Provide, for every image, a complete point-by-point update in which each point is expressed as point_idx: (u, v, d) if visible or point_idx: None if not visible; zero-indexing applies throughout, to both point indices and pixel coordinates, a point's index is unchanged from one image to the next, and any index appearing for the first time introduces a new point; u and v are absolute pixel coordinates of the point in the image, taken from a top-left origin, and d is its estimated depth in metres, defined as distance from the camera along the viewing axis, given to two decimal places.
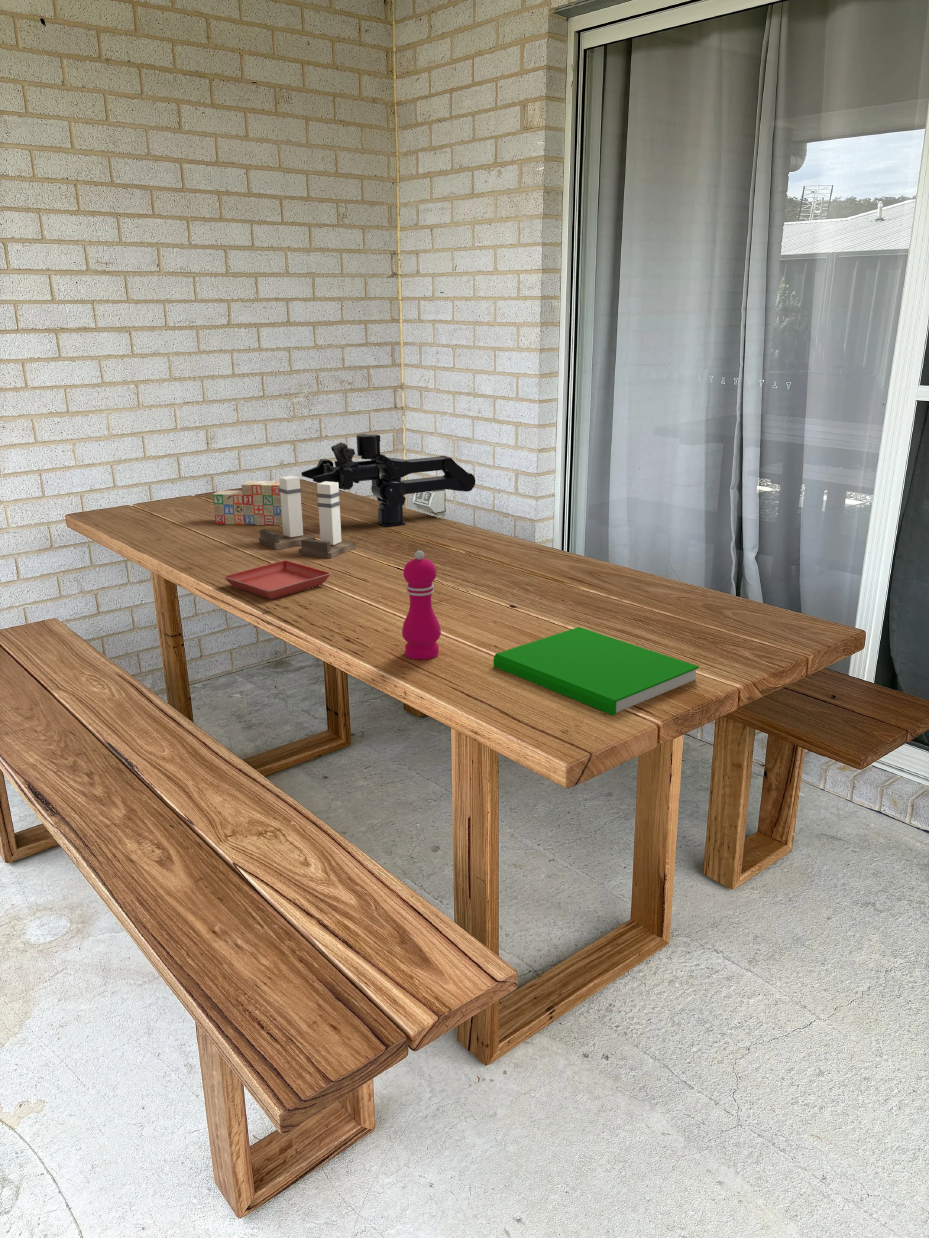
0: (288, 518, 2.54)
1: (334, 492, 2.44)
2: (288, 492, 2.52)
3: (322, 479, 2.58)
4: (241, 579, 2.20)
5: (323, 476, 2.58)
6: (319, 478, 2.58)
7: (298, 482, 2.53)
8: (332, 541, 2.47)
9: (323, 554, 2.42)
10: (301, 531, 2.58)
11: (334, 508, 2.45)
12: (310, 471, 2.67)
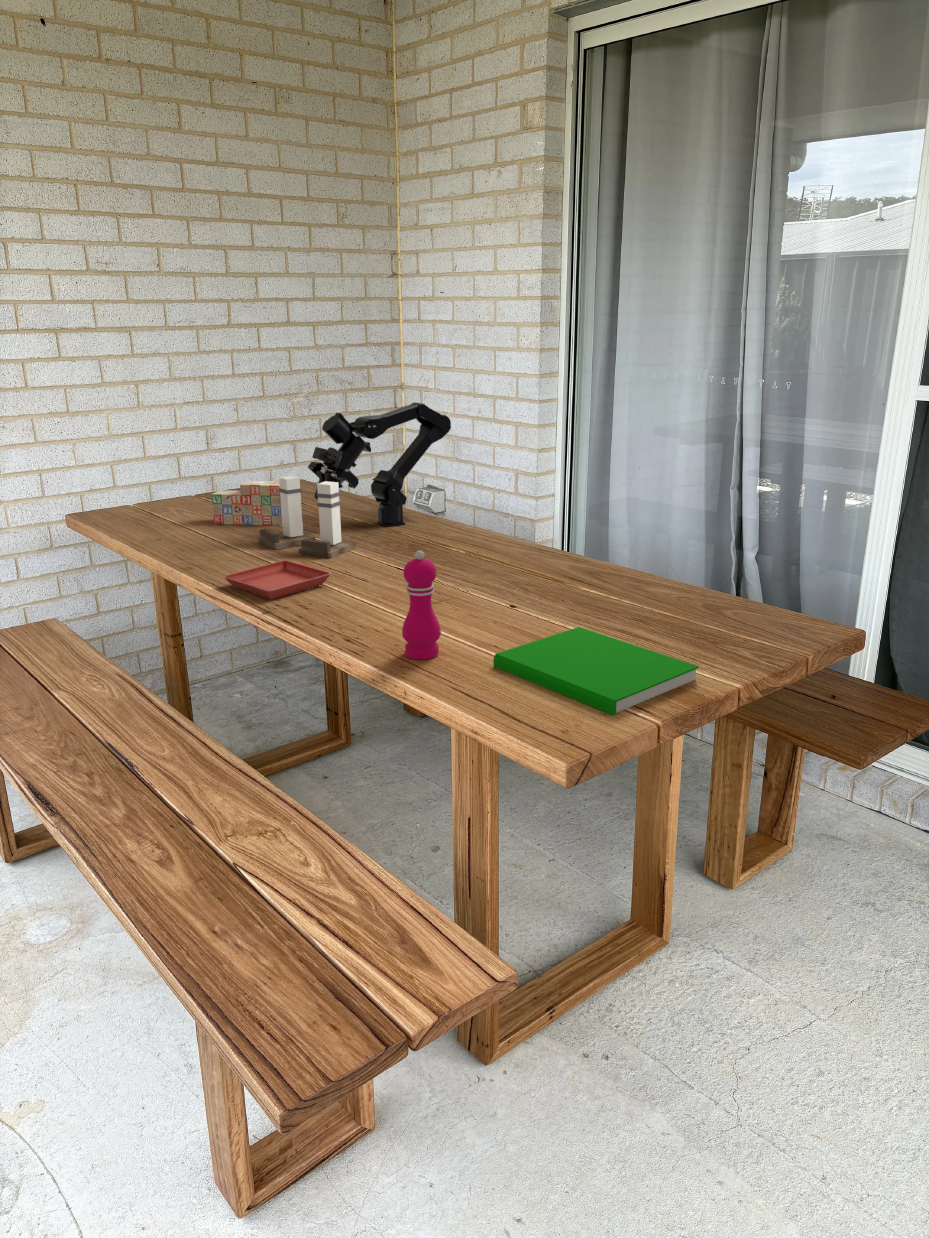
0: (288, 518, 2.54)
1: (334, 492, 2.44)
2: (288, 492, 2.52)
3: None
4: (241, 579, 2.20)
5: None
6: None
7: (298, 482, 2.53)
8: (332, 541, 2.47)
9: (323, 554, 2.42)
10: (301, 531, 2.58)
11: (334, 508, 2.45)
12: None
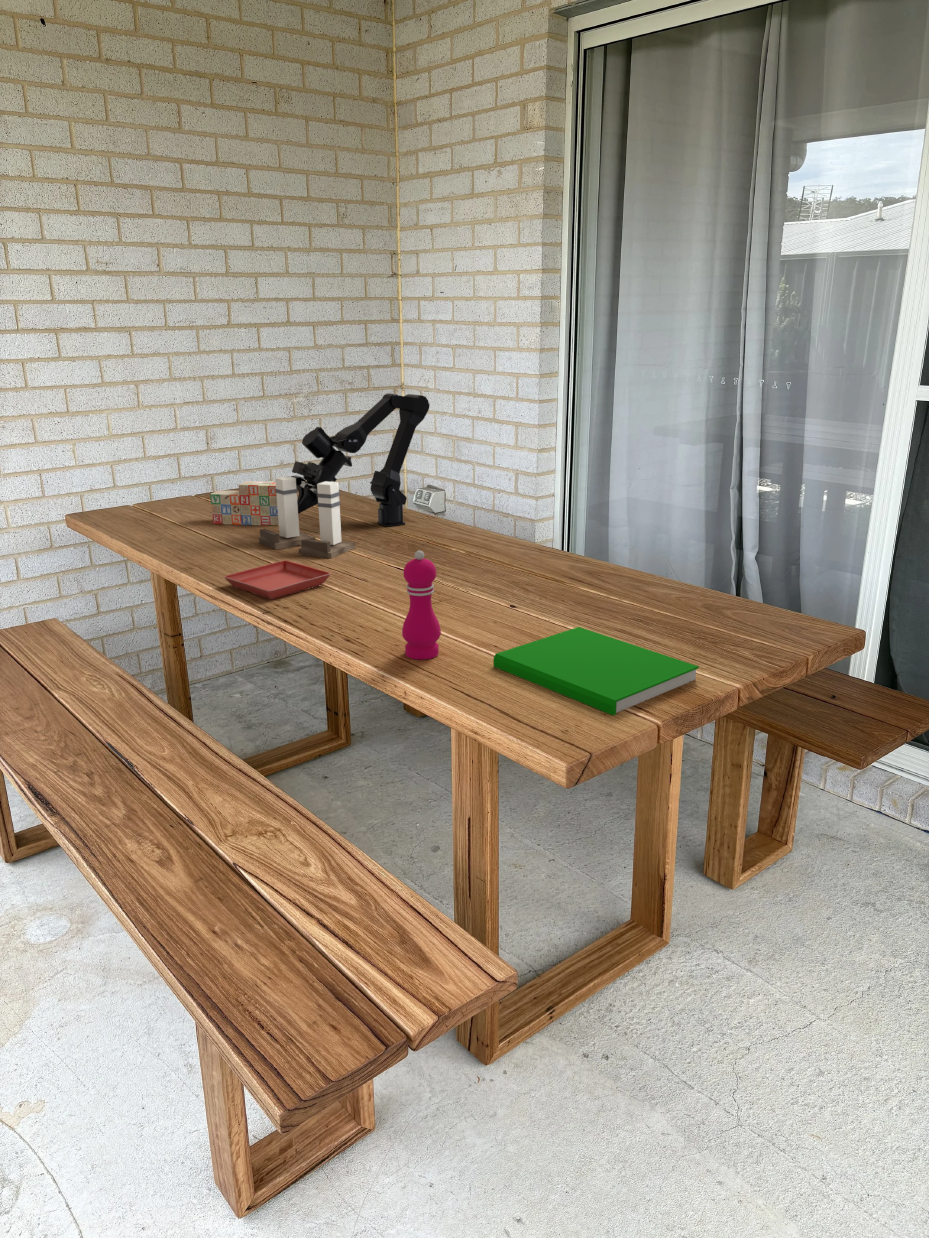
0: (284, 519, 2.54)
1: (334, 492, 2.44)
2: (284, 493, 2.51)
3: (302, 507, 2.57)
4: (241, 579, 2.20)
5: (301, 504, 2.56)
6: (299, 508, 2.57)
7: (294, 483, 2.53)
8: (332, 541, 2.47)
9: (323, 554, 2.42)
10: (297, 532, 2.57)
11: (334, 508, 2.45)
12: None
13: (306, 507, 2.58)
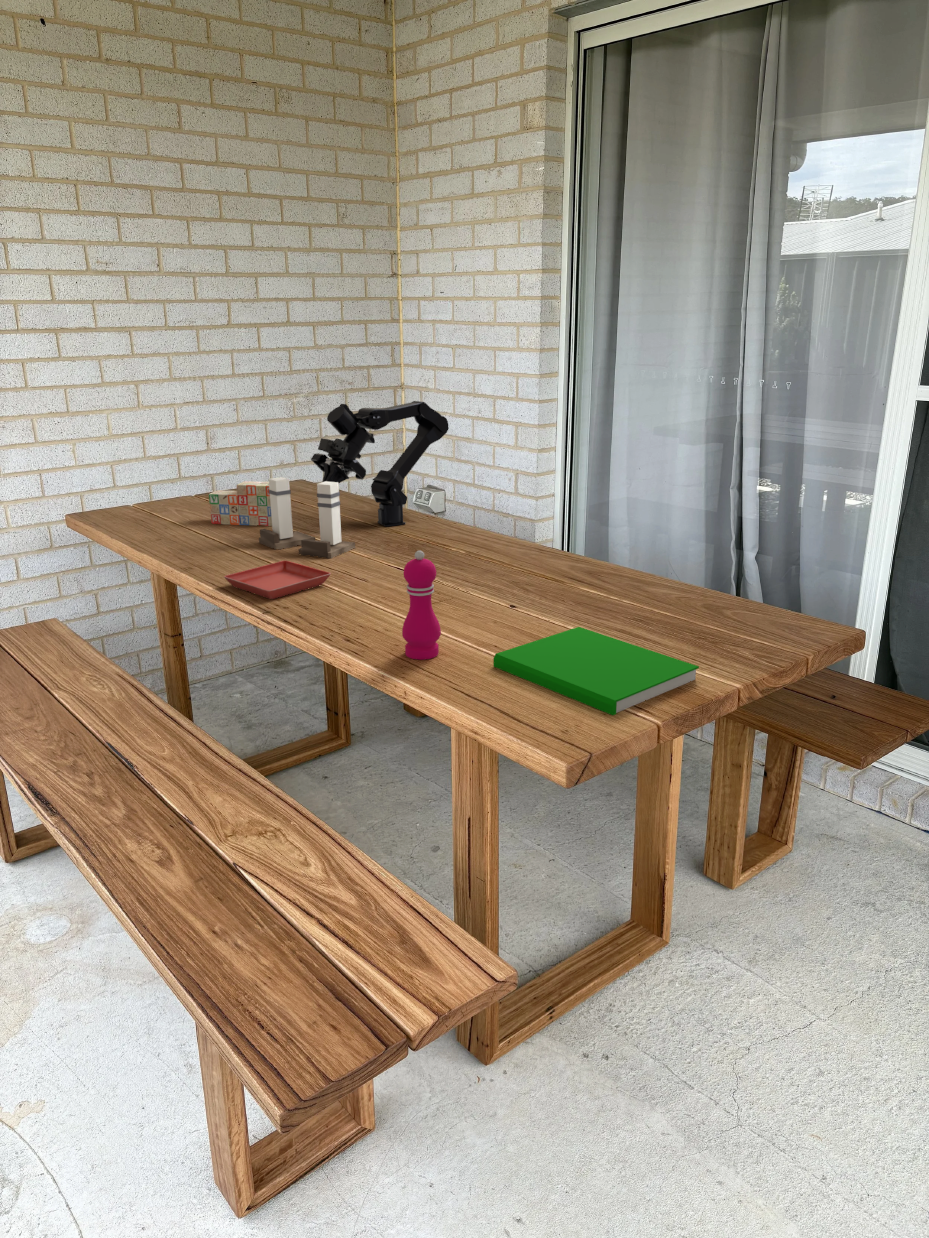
0: (277, 520, 2.53)
1: (334, 492, 2.44)
2: (277, 494, 2.50)
3: None
4: (241, 579, 2.20)
5: (328, 481, 2.58)
6: None
7: (288, 483, 2.51)
8: (332, 541, 2.47)
9: (323, 554, 2.42)
10: (291, 533, 2.56)
11: (334, 508, 2.45)
12: None
13: None
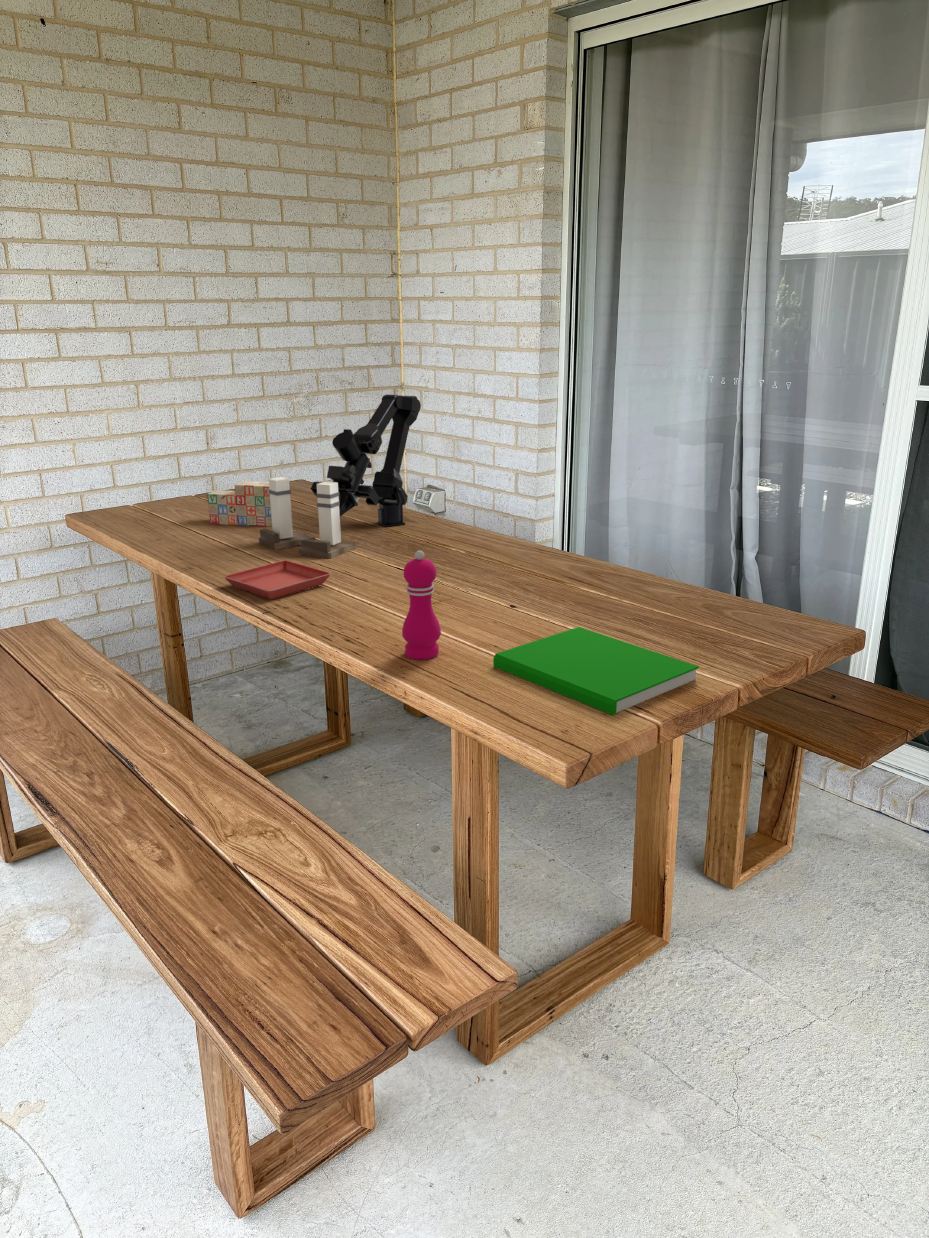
0: (277, 520, 2.53)
1: (333, 492, 2.44)
2: (277, 494, 2.50)
3: (340, 512, 2.50)
4: (241, 579, 2.20)
5: (340, 509, 2.50)
6: None
7: (288, 483, 2.51)
8: (332, 541, 2.47)
9: (323, 554, 2.42)
10: (291, 533, 2.56)
11: (333, 508, 2.45)
12: None
13: (343, 512, 2.51)
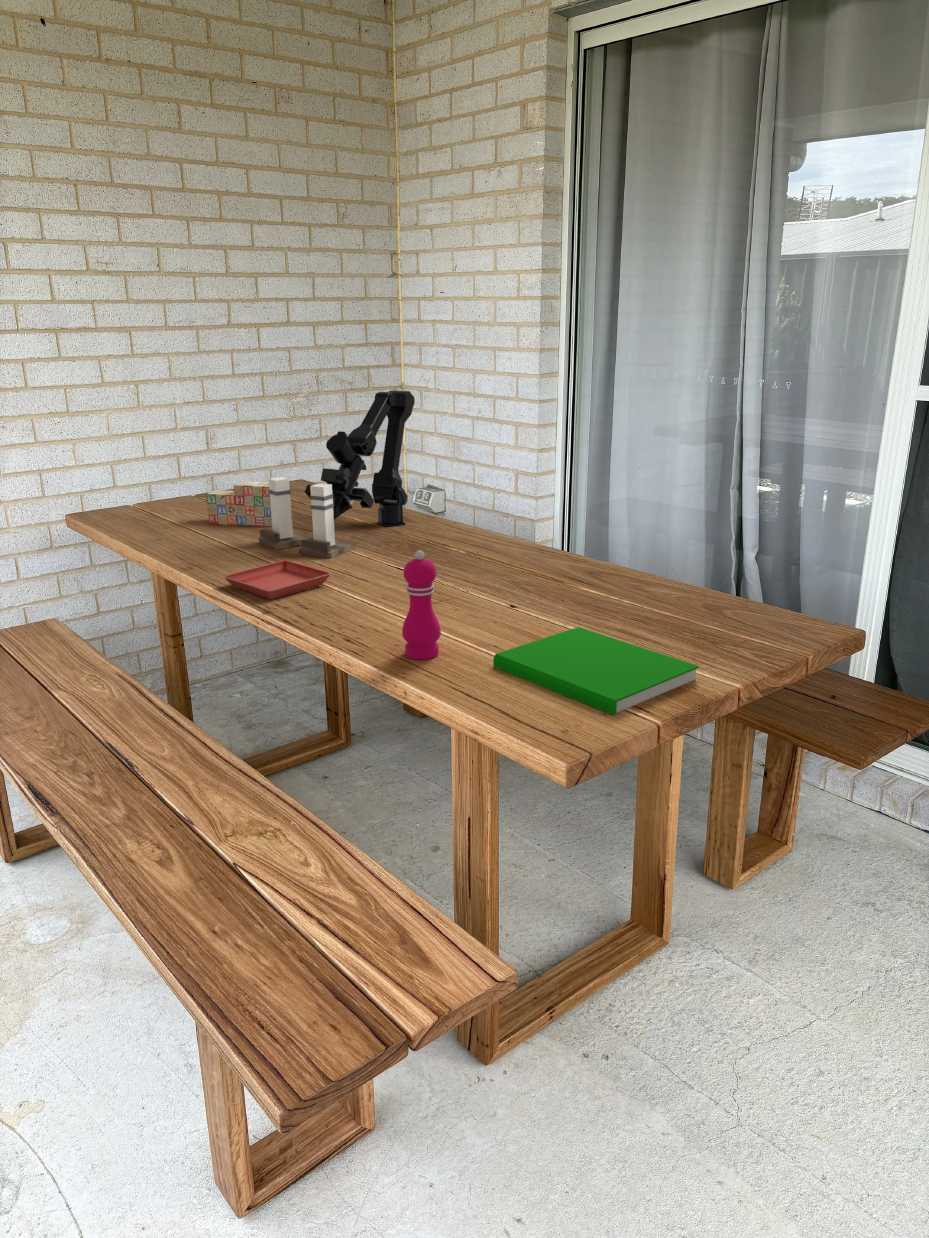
0: (277, 520, 2.53)
1: (327, 494, 2.42)
2: (277, 494, 2.50)
3: (335, 515, 2.48)
4: (241, 579, 2.20)
5: (334, 512, 2.47)
6: None
7: (288, 483, 2.51)
8: None
9: (323, 554, 2.42)
10: (291, 533, 2.56)
11: (327, 510, 2.43)
12: None
13: (337, 515, 2.49)
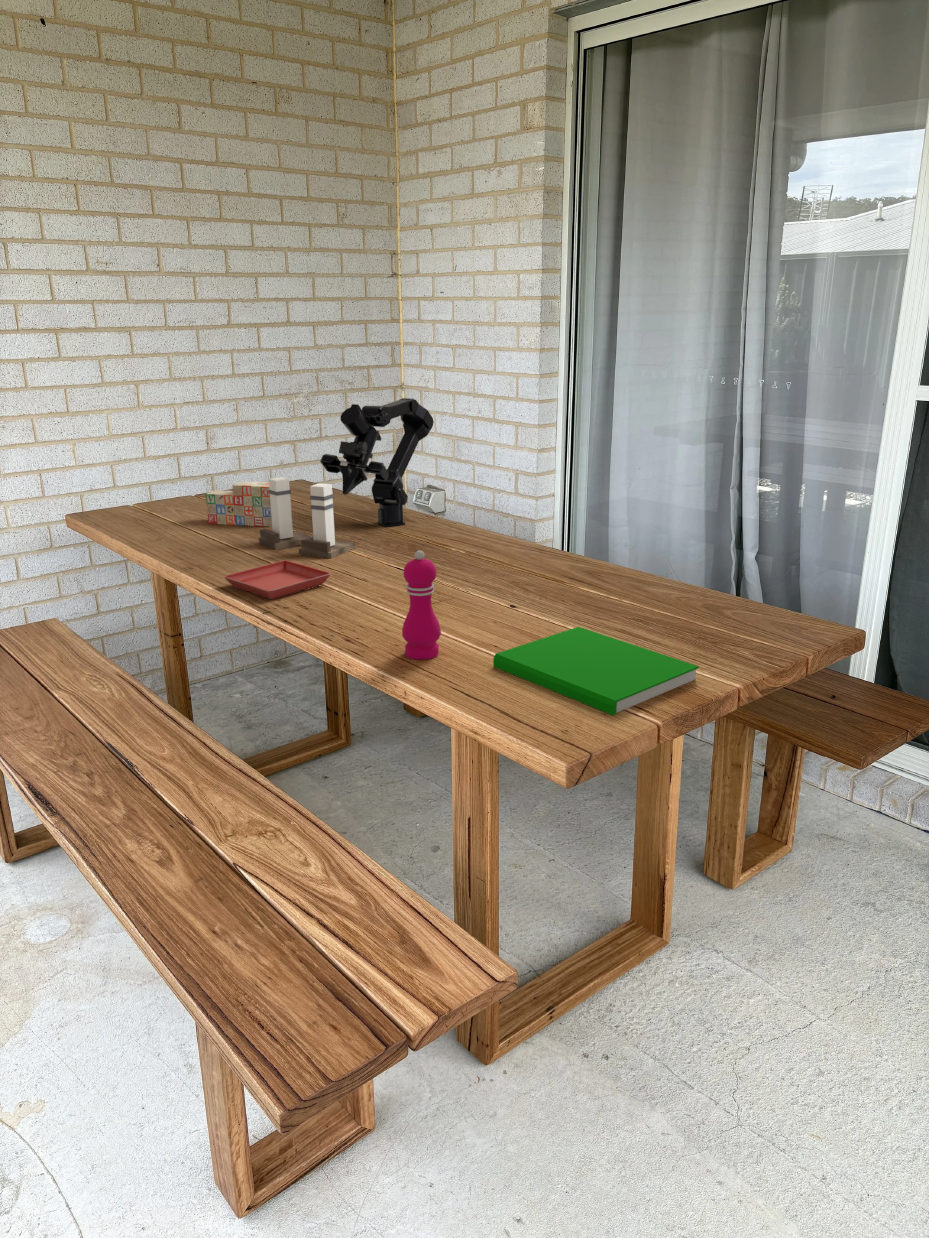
0: (277, 520, 2.53)
1: (327, 494, 2.42)
2: (277, 494, 2.50)
3: (351, 487, 2.55)
4: (241, 579, 2.20)
5: (350, 484, 2.54)
6: (348, 488, 2.55)
7: (288, 483, 2.51)
8: None
9: (323, 554, 2.42)
10: (291, 533, 2.56)
11: (327, 510, 2.43)
12: (346, 484, 2.55)
13: (353, 487, 2.56)
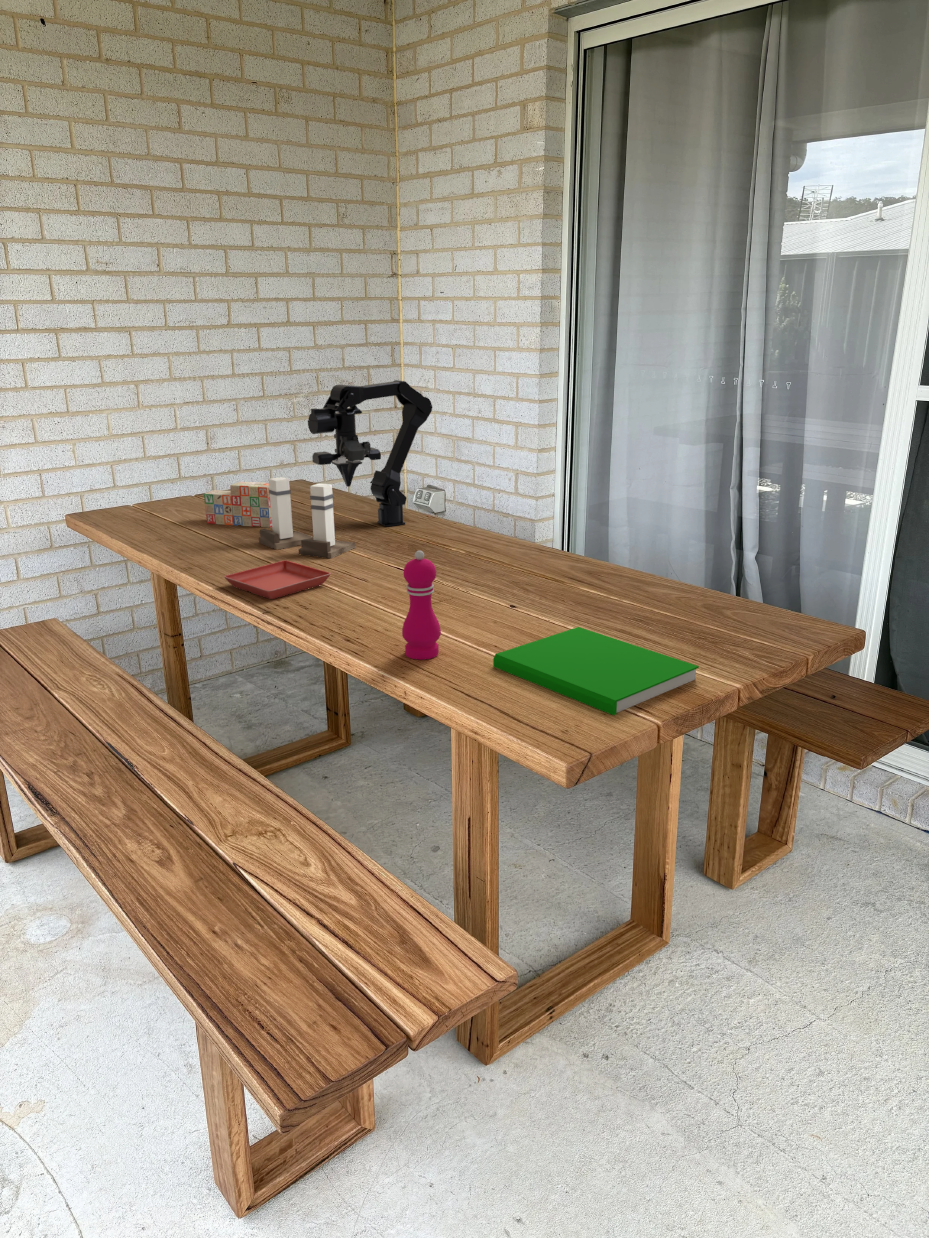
0: (277, 520, 2.53)
1: (327, 494, 2.42)
2: (277, 494, 2.50)
3: None
4: (241, 579, 2.20)
5: None
6: None
7: (288, 483, 2.51)
8: None
9: (323, 554, 2.42)
10: (291, 533, 2.56)
11: (327, 510, 2.43)
12: None
13: None
